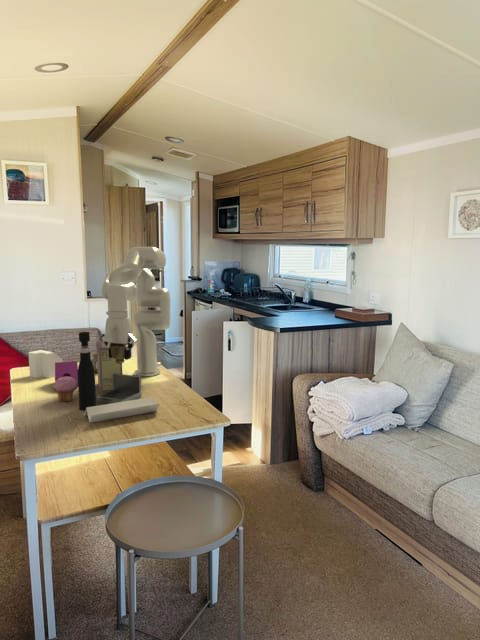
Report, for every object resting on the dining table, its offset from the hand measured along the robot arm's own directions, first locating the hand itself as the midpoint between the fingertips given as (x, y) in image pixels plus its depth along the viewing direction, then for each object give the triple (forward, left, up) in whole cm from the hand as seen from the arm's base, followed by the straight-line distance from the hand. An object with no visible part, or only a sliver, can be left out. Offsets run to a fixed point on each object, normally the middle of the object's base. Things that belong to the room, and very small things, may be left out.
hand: (119, 357), depth 196 cm
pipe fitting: (-35, -39, -18) cm, 56 cm away
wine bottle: (+14, -6, -18) cm, 23 cm away
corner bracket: (-18, -57, -18) cm, 62 cm away
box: (-12, -15, -18) cm, 26 cm away
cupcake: (+9, -21, -18) cm, 29 cm away
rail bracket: (+1, -1, -18) cm, 18 cm away
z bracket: (+15, +11, -18) cm, 26 cm away
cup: (0, 0, -2) cm, 2 cm away
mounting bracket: (-7, -34, -18) cm, 40 cm away
